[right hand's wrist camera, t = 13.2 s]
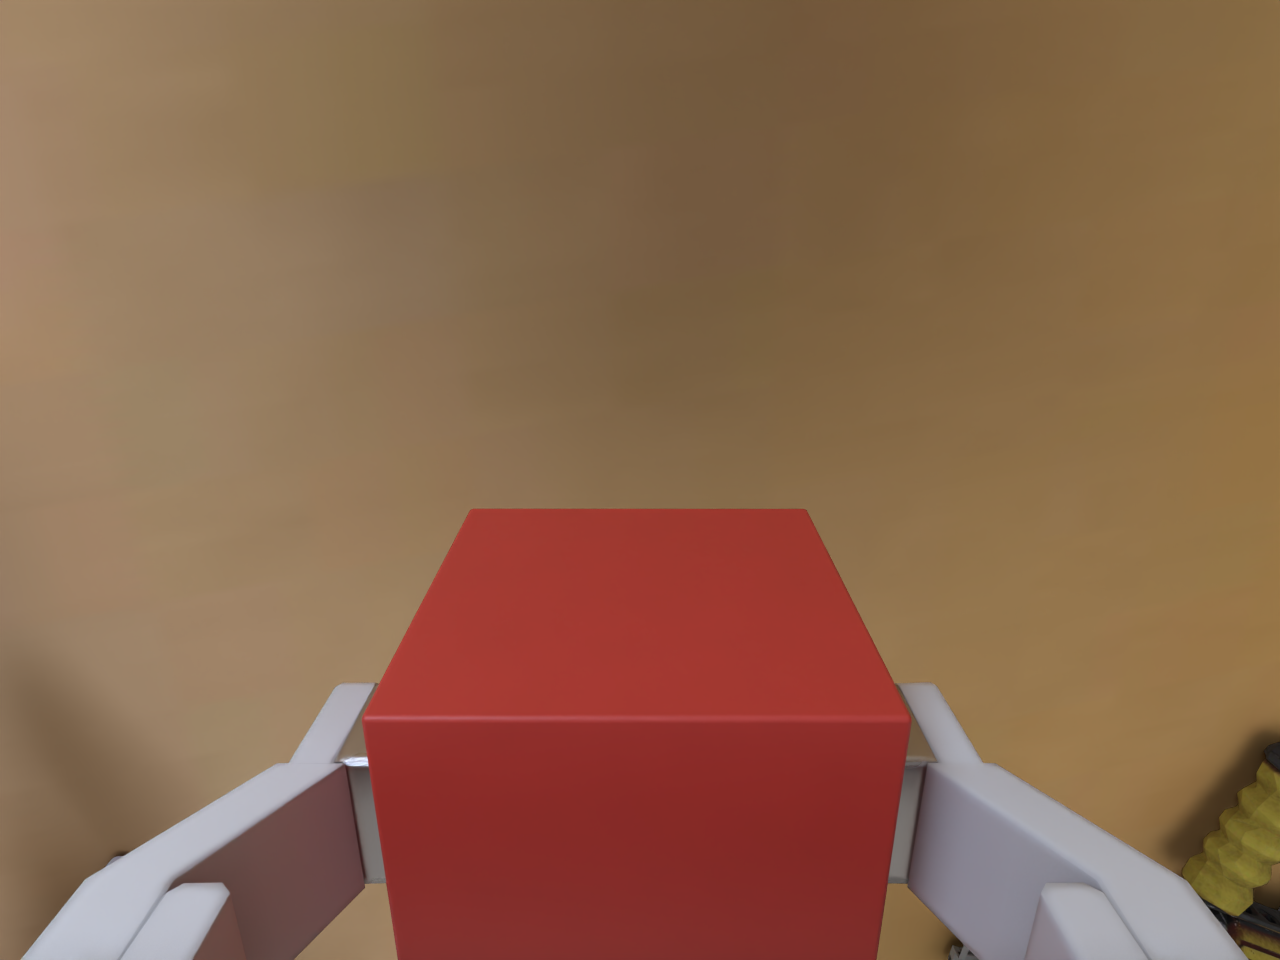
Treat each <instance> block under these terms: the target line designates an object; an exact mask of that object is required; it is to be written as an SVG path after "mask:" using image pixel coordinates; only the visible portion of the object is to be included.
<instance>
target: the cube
mask: <svg viewBox="0 0 1280 960" xmlns="http://www.w3.org/2000/svg"><path fill="white" fill-rule="evenodd" d="M911 723H912V718H911V715H910V713H909V711H908V709H907V707H906V705H905V704H904V702H903V700H902V698H901V696H900V694H899V692H898V690H897V688H896V686H895V684H894V682H893V680H892V678H891V676H890V674H889V672H888V670H887V668H886V666H885V664H884V662H883V660H882V658H881V656H880V654H879V652H878V650H877V648H876V646H875V644H874V642H873V640H872V638H871V636H870V634H869V632H868V630H867V629H866V627H865V625H864V623H863V621H862V619H861V617H860V615H859V613H858V611H857V609H856V607H855V605H854V603H853V601H852V599H851V597H850V595H849V593H848V591H847V589H846V587H845V585H844V583H843V581H842V579H841V577H840V575H839V573H838V571H837V569H836V567H835V565H834V563H833V561H832V559H831V557H830V555H829V554H828V552H827V550H826V548H825V546H824V544H823V542H822V540H821V538H820V536H819V534H818V532H817V530H816V528H815V526H814V524H813V522H812V520H811V518H810V516H809V514H808V512H807V510H805V509H472V510H470V512H469V513H468V515H467V517H466V519H465V521H464V523H463V525H462V527H461V529H460V531H459V533H458V534H457V536H456V538H455V540H454V542H453V544H452V546H451V548H450V550H449V552H448V554H447V555H446V557H445V559H444V561H443V563H442V565H441V567H440V569H439V571H438V573H437V575H436V576H435V578H434V580H433V582H432V584H431V586H430V588H429V590H428V592H427V594H426V596H425V597H424V599H423V601H422V603H421V605H420V607H419V609H418V611H417V613H416V615H415V617H414V618H413V620H412V622H411V624H410V626H409V628H408V630H407V632H406V634H405V636H404V638H403V640H402V641H401V643H400V645H399V647H398V649H397V651H396V653H395V655H394V657H393V659H392V661H391V662H390V664H389V666H388V668H387V670H386V672H385V674H384V676H383V678H382V680H381V682H380V683H379V685H378V687H377V689H376V691H375V693H374V695H373V697H372V699H371V701H370V703H369V704H368V706H367V708H366V710H365V712H364V714H363V716H362V726H363V732H364V739H365V746H366V752H367V759H368V765H369V772H370V778H371V785H372V792H373V798H374V805H375V811H376V818H377V824H378V831H379V838H380V844H381V851H382V857H383V864H384V870H385V877H386V884H387V890H388V897H389V903H390V910H391V917H392V923H393V930H394V936H395V943H396V949H397V956H398V960H876V959H877V952H878V945H879V938H880V932H881V925H882V918H883V912H884V905H885V898H886V891H887V885H888V878H889V871H890V864H891V858H892V851H893V844H894V837H895V831H896V824H897V817H898V810H899V804H900V797H901V790H902V784H903V777H904V770H905V763H906V757H907V750H908V743H909V736H910V730H911Z"/></svg>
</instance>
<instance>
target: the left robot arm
mask: <svg viewBox="0 0 1280 960" xmlns="http://www.w3.org/2000/svg"><path fill="white" fill-rule="evenodd" d="M121 857H123V856H117V857H114V858H112V859H111V860H110V862H109V863H108V864H107V866H108V865H110V864H111V863H113V862H115V861H116V860H118V859H120V858H121Z"/></svg>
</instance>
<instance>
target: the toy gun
mask: <svg viewBox="0 0 1280 960" xmlns="http://www.w3.org/2000/svg"><path fill="white" fill-rule="evenodd" d="M1264 752H1265V754H1266V759H1265V760H1264V761H1263V762H1262V764H1261V766H1260V767H1259V769H1258V771H1257V773H1256V779H1257V781H1256V782H1254V783H1252V784H1250V785H1248V786H1246V787H1245V788H1243V789H1241V790H1240V791H1239V792H1237V797H1238V805H1237V806H1236V807H1233V808H1229V809H1225V810H1224V811H1223V813H1222V814H1221V815H1220V817H1219V823H1220V829H1219V830H1217V831H1211V832H1210V833H1209V834H1208V835H1207V836H1206V837H1205V838H1204V839H1203V852H1202V853H1200V854H1197V855H1194V856H1192V857H1191V858H1189V860H1188V861H1187V863H1186V864H1185V866H1184V867H1183V869H1182V875H1183V877H1184V878H1185V880H1187V882H1188V883H1189V884H1190V885H1191V887H1192V888H1193V889H1194V891H1195V892H1196V893H1197V894H1198V896H1199V897H1200V898H1201V899H1202V901H1203V902H1204V903H1205V905H1206V906H1207V907H1208V908H1209V910H1210V911H1211V912H1212V913H1213V915H1214V916H1215V917H1216V919H1217V920H1218V921H1219V922H1220V924H1221V925H1222V926H1223V928H1224V929H1225V930H1226V931H1227V933H1228V934H1229V935H1230V936H1231V938H1232V939H1233V940H1234V942H1235V943H1236V944H1237V945H1238V947H1239V948H1240V949H1241V951H1242V952H1243V953H1244V954H1245V956H1246V957H1247V958H1248V959H1249V960H1280V907H1279V909H1278V911H1277V910H1275V909H1272V908H1269V907H1267V906H1264V905H1261V904H1259V903H1256V902H1253V888H1256V887H1259V886H1262V885H1266V884H1267V883H1268V882H1269V880H1270V878H1271V866H1272V865H1274V864H1277V863H1280V742H1277V743H1274V744H1272V745H1269V746H1268V747H1267V748H1266V749H1265V750H1264ZM963 945H964V944H963ZM948 960H979V959H978V958H977V957H976V956H975V955H974V954H973V953H972V952H971V951H970V950H969V949H968V948H967V947H966V946H965V945H964V946H963V948H962V947H957V946H954V945H952V948H951V951H950V954H949V956H948Z"/></svg>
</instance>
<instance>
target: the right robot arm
mask: <svg viewBox="0 0 1280 960" xmlns="http://www.w3.org/2000/svg"><path fill="white" fill-rule="evenodd" d="M894 684H895V686H896V688H897V690H898V692H899V694H900V696H901V698H902V700H903V702H904V704H905V705H906V707H907V709H908V711H909V713H910V715H911V718H912V723H911V730H910V736H909V743H908V750H907V757H906V763H905V770H904V777H903V784H902V790H901V797H900V804H899V810H898V817H897V824H896V831H895V837H894V844H893V851H892V858H891V864H890V871H889V878H888V883H904V884H908V886H907V887H908V888H909V889H910V890H911V891H912V892H913V893H914V894H915V895H916V896H917V897H918V898H919V899H920V900H921V901H922V902H923V903H924V904H925V905H926V906H927V907H928V908H929V909H930V910H931V911H932V912H933V913H934V914H935V915H936V917H937V918H938V919H939V920H940V921H941V922H942V923H943V924H944V925H945V926H946V927H947V928H948V929H949V930H950V931H951V932H952V933H953V934H954V935H955V936H956V937H957V938H958V939H959V940H960V941H961V942H962V943H963V944H964V945H965V946H966V947H967V948H968V949H969V950H970V951H971V952H972V953H973V954H974V955H975V956H976V957H977V958H978V959H979V960H1249V959H1248V958H1247V957H1246V956H1245V954H1244V953H1243V952H1242V951H1241V949H1240V948H1239V947H1238V945H1237V944H1236V943H1235V942H1234V940H1233V939H1232V938H1231V936H1230V935H1229V934H1228V933H1227V931H1226V930H1225V929H1224V928H1223V926H1222V925H1221V924H1220V922H1219V921H1218V920H1217V919H1216V917H1215V916H1214V915H1213V913H1212V912H1211V911H1210V910H1209V908H1208V907H1207V906H1206V905H1205V903H1204V902H1203V901H1202V899H1201V898H1200V897H1199V896H1198V894H1197V893H1196V892H1195V891H1194V889H1193V888H1192V887H1191V885H1190V884H1189V883H1188V882H1187V880H1185V879H1183V878H1182V877H1180V876H1178V875H1177V874H1175V873H1173V872H1172V871H1170V870H1169V869H1167V868H1165V867H1164V866H1162V865H1160V864H1159V863H1157V862H1156V861H1154V860H1152V859H1151V858H1149V857H1147V856H1146V855H1144V854H1142V853H1141V852H1139V851H1138V850H1136V849H1134V848H1133V847H1131V846H1129V845H1128V844H1126V843H1124V842H1123V841H1121V840H1120V839H1118V838H1116V837H1115V836H1113V835H1111V834H1110V833H1108V832H1107V831H1105V830H1103V829H1102V828H1100V827H1098V826H1097V825H1095V824H1093V823H1092V822H1090V821H1089V820H1087V819H1085V818H1084V817H1082V816H1080V815H1079V814H1077V813H1076V812H1074V811H1072V810H1071V809H1069V808H1067V807H1066V806H1064V805H1062V804H1061V803H1059V802H1058V801H1056V800H1054V799H1053V798H1051V797H1049V796H1048V795H1046V794H1044V793H1043V792H1041V791H1040V790H1038V789H1036V788H1035V787H1033V786H1031V785H1030V784H1028V783H1027V782H1025V781H1023V780H1022V779H1020V778H1018V777H1017V776H1015V775H1013V774H1012V773H1010V772H1009V771H1007V770H1005V769H1004V768H1002V767H1000V766H999V765H997V764H996V763H983V761H982V760H981V758H980V756H979V755H978V753H977V751H976V750H975V748H974V746H973V745H972V743H971V741H970V740H969V738H968V736H967V735H966V733H965V732H964V730H963V728H962V727H961V725H960V723H959V722H958V720H957V718H956V717H955V715H954V713H953V712H952V710H951V708H950V707H949V705H948V703H947V702H946V700H945V699H944V697H943V695H942V694H941V692H940V690H939V689H938V687H937V686H936V685H934V684H933V683H931V682H921V683H894ZM378 685H379V684H378V683H342V684H340V685H338V686H336V687H335V688H334V690H333V691H332V693H331V695H330V696H329V698H328V699H327V701H326V703H325V704H324V706H323V708H322V709H321V711H320V712H319V714H318V716H317V717H316V719H315V721H314V722H313V724H312V726H311V727H310V729H309V730H308V732H307V734H306V735H305V737H304V739H303V740H302V742H301V744H300V745H299V747H298V748H297V750H296V752H295V753H294V755H293V757H292V758H291V760H290V761H289V763H277V764H275V765H273V766H272V767H270V768H268V769H267V770H265V771H263V772H262V773H260V774H258V775H257V776H255V777H253V778H252V779H250V780H248V781H247V782H245V783H244V784H242V785H240V786H239V787H237V788H235V789H234V790H232V791H230V792H229V793H227V794H225V795H224V796H222V797H220V798H219V799H217V800H215V801H214V802H212V803H210V804H209V805H207V806H205V807H204V808H202V809H201V810H199V811H197V812H196V813H194V814H192V815H191V816H189V817H187V818H186V819H184V820H182V821H181V822H179V823H177V824H176V825H174V826H172V827H171V828H169V829H167V830H166V831H164V832H163V833H161V834H159V835H158V836H156V837H154V838H153V839H151V840H149V841H148V842H146V843H144V844H143V845H141V846H139V847H138V848H136V849H134V850H133V851H131V852H129V853H128V854H126V855H124V856H123V857H121V858H120V859H118V860H116V861H115V862H113V863H111V864H110V865H108V866H106V867H105V868H103V869H101V870H100V871H98V872H96V873H95V874H93V875H91V876H90V877H88V878H86V879H85V880H84V881H83V883H82V884H81V885H80V886H79V888H78V889H77V890H76V891H75V892H74V894H73V895H72V896H71V897H70V899H69V900H68V901H67V902H66V904H65V905H64V906H63V907H62V909H61V910H60V911H59V912H58V914H57V915H56V916H55V917H54V919H53V920H52V921H51V922H50V924H49V925H48V926H47V927H46V929H45V930H44V931H43V932H42V934H41V935H40V936H39V937H38V939H37V940H36V941H35V942H34V944H33V945H32V946H31V947H30V949H29V950H28V951H27V952H26V954H25V955H24V956H23V957H22V958H21V960H293V959H294V958H295V957H296V956H297V955H298V954H299V953H300V952H301V951H302V950H303V949H304V948H305V947H306V946H307V945H308V944H309V943H310V942H311V941H312V940H313V939H314V938H315V937H316V936H317V935H318V934H319V933H320V932H321V931H322V930H323V929H324V928H325V927H326V926H327V925H328V924H329V923H330V922H331V921H332V920H333V919H334V918H335V917H336V916H337V915H338V914H339V913H340V912H341V911H342V910H343V909H344V908H345V907H346V906H347V905H348V904H349V903H350V902H351V901H352V900H353V899H354V898H355V897H356V896H357V895H358V894H359V893H360V892H361V891H362V890H363V889H364V888H365V884H369V883H386V877H385V870H384V864H383V857H382V851H381V844H380V838H379V831H378V824H377V818H376V811H375V805H374V798H373V792H372V785H371V778H370V772H369V765H368V759H367V752H366V746H365V739H364V732H363V726H362V716H363V714H364V712H365V710H366V708H367V706H368V704H369V703H370V701H371V699H372V697H373V695H374V693H375V691H376V689H377V687H378Z"/></svg>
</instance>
